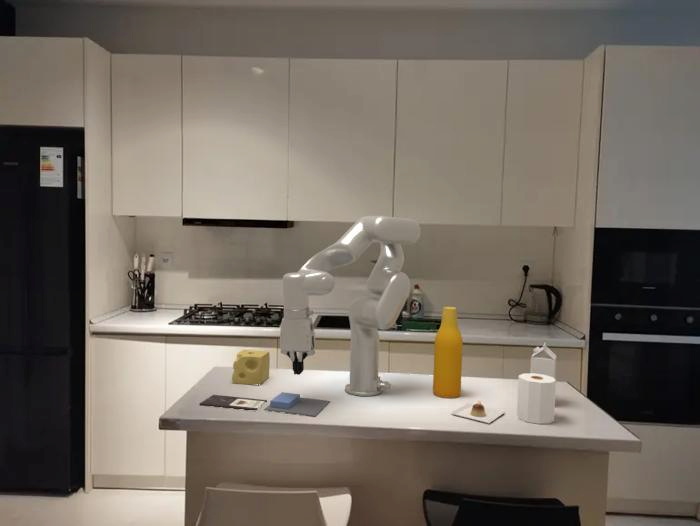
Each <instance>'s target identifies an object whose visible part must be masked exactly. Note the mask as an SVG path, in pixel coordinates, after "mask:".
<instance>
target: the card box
mask: <svg viewBox="0 0 700 526" xmlns="http://www.w3.org/2000/svg"><path fill="white" fill-rule="evenodd" d="M300 397H301V394H300V393H293V392H285V391H282V392H280V393H279V394H278V395H276V396H275V397H274V398H272V399H271V400H270V404H269V405H270V407H276V408H284V409H290V408H291V407H292V406H293V405H294V404H296V403H297V402H298V401H299V400H300Z"/></svg>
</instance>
